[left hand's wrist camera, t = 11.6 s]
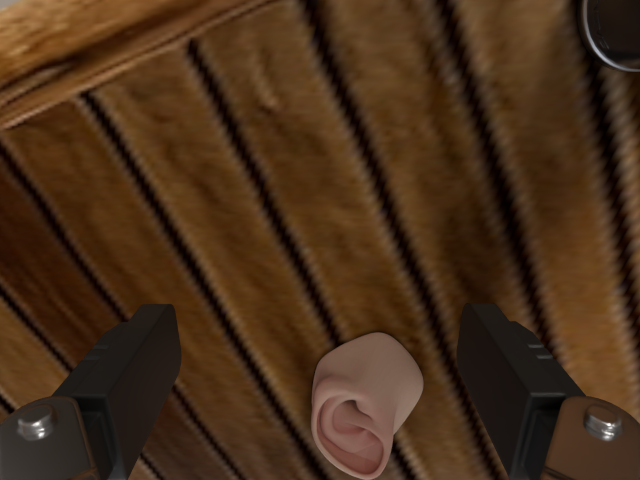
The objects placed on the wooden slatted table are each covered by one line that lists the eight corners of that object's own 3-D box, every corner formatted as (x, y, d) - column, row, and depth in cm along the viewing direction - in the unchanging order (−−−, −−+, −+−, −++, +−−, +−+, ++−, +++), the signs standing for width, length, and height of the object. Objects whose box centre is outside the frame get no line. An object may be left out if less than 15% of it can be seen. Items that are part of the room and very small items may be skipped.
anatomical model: (363, 341, 33) (467, 406, 36) (359, 315, 37) (453, 375, 39) (272, 440, 37) (371, 493, 40) (277, 408, 41) (367, 458, 43)
